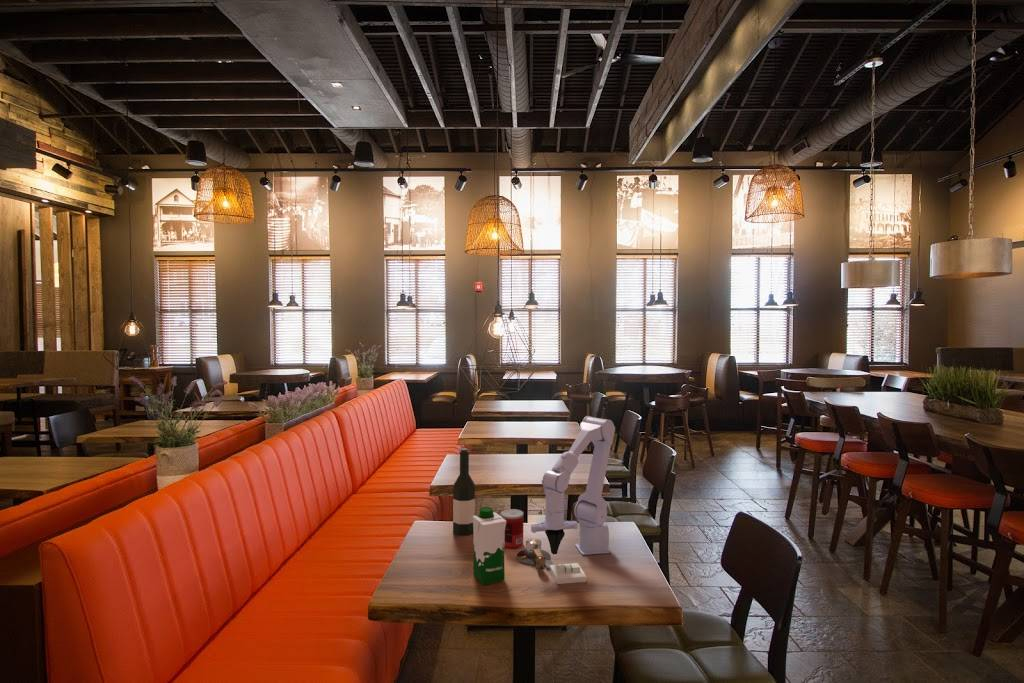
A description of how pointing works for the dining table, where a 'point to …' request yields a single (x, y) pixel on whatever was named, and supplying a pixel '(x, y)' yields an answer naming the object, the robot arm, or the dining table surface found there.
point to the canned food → (513, 528)
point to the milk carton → (488, 546)
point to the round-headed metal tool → (535, 552)
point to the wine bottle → (463, 498)
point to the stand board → (567, 573)
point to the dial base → (528, 561)
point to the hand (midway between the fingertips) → (554, 552)
